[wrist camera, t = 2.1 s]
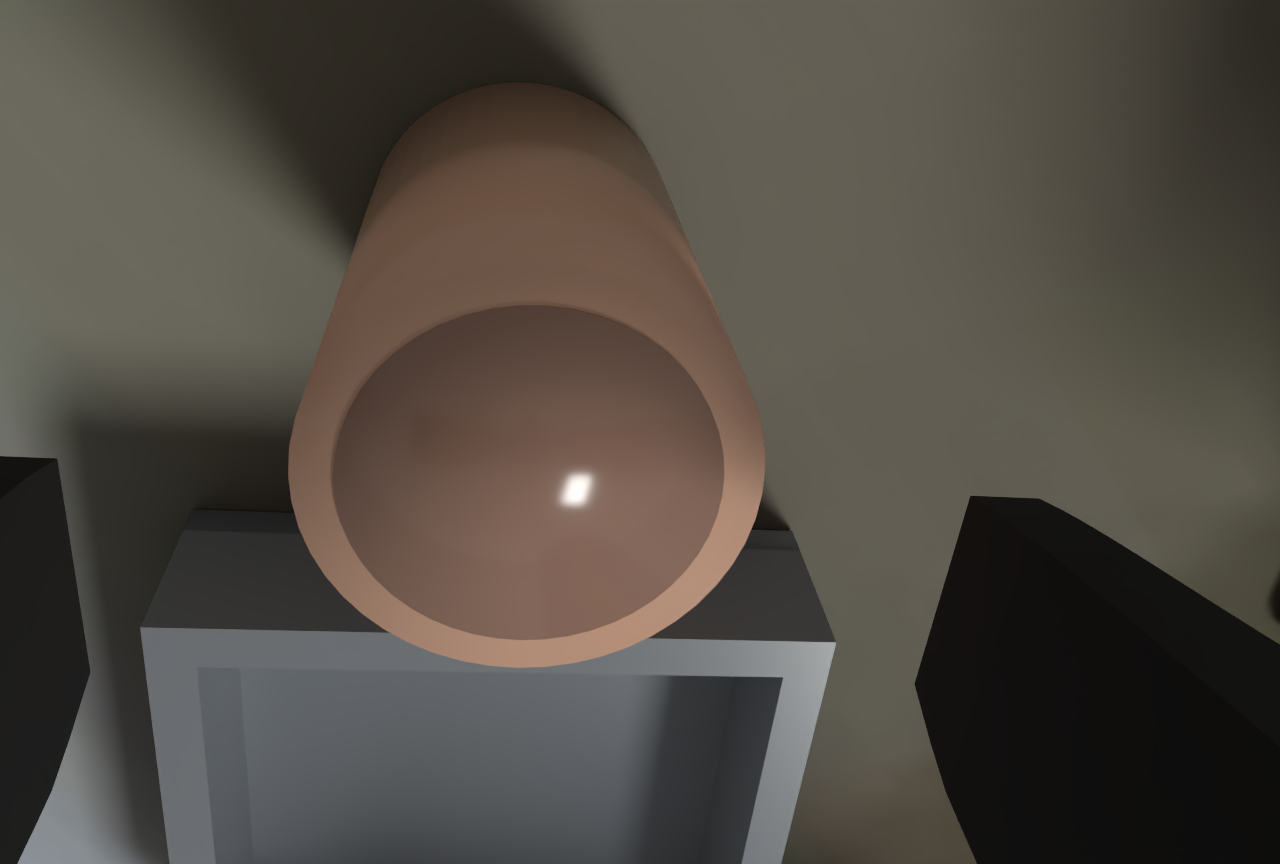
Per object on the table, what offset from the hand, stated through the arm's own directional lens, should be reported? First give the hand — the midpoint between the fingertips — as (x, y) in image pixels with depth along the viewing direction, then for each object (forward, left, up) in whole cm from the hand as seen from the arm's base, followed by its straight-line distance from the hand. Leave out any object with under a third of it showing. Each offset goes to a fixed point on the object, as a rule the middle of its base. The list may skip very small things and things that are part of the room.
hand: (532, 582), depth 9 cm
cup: (0, 0, -8) cm, 9 cm away
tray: (0, +10, -8) cm, 13 cm away
